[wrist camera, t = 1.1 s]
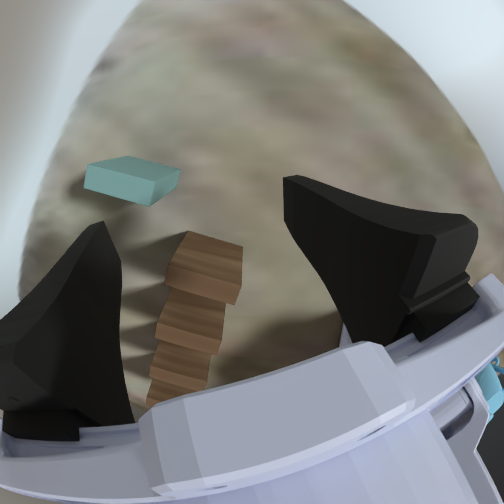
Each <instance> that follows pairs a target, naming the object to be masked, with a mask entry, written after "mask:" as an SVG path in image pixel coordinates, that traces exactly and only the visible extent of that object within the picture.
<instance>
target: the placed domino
mask: <svg viewBox="0 0 504 504" xmlns="http://www.w3.org/2000/svg"><path fill="white" fill-rule="evenodd" d="M180 171H181V169H178V168H174V167H170V166H166V165H163V164H159V163H155V162H151V161H147V160H143V159H139V158H135V157H131V156H125V157H119V158H114V159H110V160H105V161H100V162H96V163H91V164H87V170H86V175H85V182H84V188H85V189H89V190H92V191H96V192H100V193H103V194H107V195H110V196H114V197H117V198H121V199H124V200H128V201H131V202H135V203H138V204H141V205H145V206H148V207H150V206H151V205H152V204H154V203H155V202H157V201H158V200H159V199H161V198H162V197H163V196H165V195H166V194H168V193H169V192H170V191H172V190H173V189H175V188H176V186H177V182H178V178H179V175H180Z"/></svg>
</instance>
